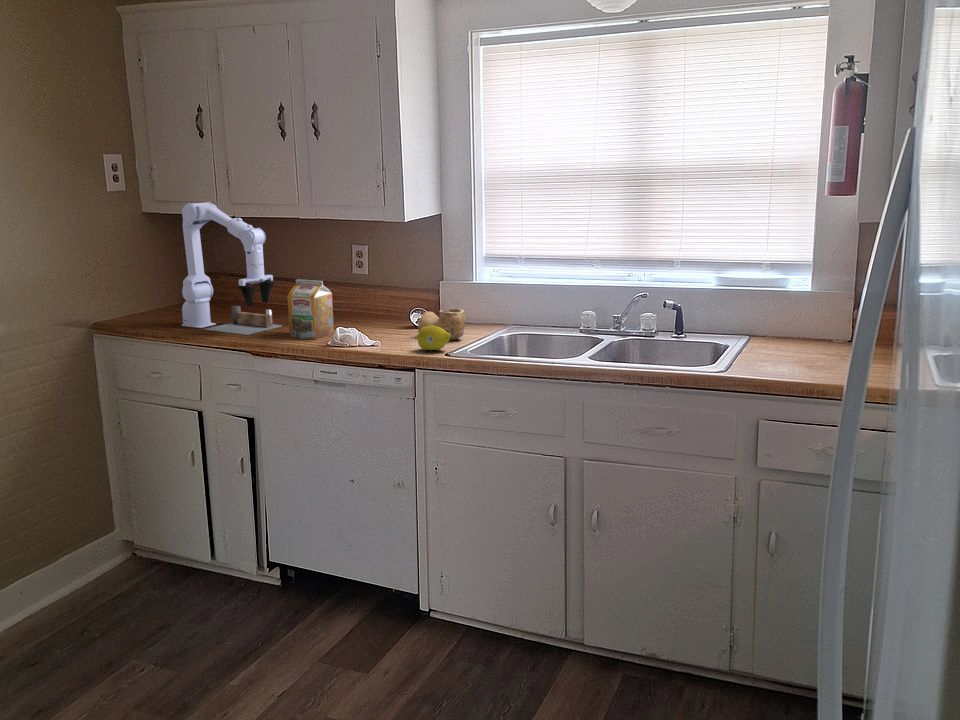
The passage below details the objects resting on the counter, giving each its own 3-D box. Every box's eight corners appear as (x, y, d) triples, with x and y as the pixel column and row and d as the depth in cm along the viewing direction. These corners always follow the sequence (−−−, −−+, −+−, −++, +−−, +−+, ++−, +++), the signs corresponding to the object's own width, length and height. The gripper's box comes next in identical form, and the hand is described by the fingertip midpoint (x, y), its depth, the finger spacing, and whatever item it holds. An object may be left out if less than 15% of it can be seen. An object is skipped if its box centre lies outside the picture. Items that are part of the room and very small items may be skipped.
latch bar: (230, 323, 316) (229, 306, 315) (236, 321, 319) (235, 305, 317) (265, 327, 308) (264, 310, 307) (271, 325, 311) (270, 309, 310)
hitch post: (265, 326, 313) (264, 310, 311) (269, 325, 314) (268, 309, 313) (270, 327, 312) (269, 310, 310) (273, 326, 313) (272, 309, 312)
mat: (204, 329, 307) (204, 329, 307) (240, 321, 322) (240, 320, 322) (246, 335, 298) (246, 334, 298) (282, 326, 313) (282, 325, 313)
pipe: (432, 333, 300) (432, 304, 297) (471, 338, 291) (471, 309, 288) (416, 338, 292) (415, 308, 290) (455, 343, 283) (454, 313, 281)
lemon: (411, 352, 272) (411, 326, 270) (423, 347, 279) (422, 322, 277) (443, 355, 267) (442, 329, 265) (454, 349, 274) (453, 324, 272)
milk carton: (333, 334, 299) (331, 279, 295) (316, 339, 290) (313, 283, 286) (308, 331, 304) (305, 277, 299) (289, 337, 294) (286, 281, 290)
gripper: (248, 267, 288) (251, 308, 291) (278, 262, 301) (280, 301, 304) (232, 266, 292) (235, 306, 295) (263, 261, 304) (265, 300, 307)
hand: (257, 304), depth 300 cm, fingers open, 7 cm apart
